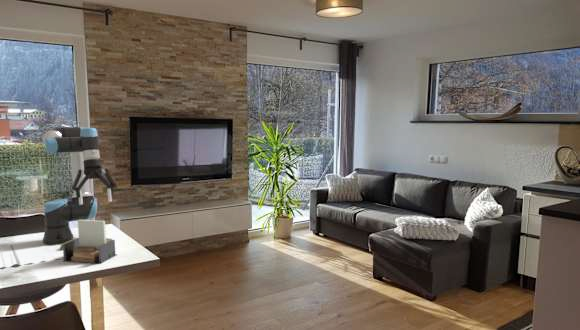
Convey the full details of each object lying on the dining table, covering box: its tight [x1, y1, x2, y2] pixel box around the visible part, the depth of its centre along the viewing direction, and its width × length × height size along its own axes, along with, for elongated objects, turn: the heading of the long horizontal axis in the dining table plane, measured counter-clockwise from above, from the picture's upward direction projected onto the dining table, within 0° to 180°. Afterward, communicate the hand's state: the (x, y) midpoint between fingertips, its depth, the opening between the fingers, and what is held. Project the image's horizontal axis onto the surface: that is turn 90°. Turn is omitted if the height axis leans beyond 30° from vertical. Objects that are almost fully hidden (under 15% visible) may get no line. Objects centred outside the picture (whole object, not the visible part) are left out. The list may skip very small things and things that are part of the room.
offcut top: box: [73, 246, 96, 254], centre depth 202 cm, size 4×9×2 cm, turn 78°
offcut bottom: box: [71, 256, 99, 263], centre depth 203 cm, size 5×12×2 cm, turn 78°
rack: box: [62, 237, 119, 265], centre depth 205 cm, size 14×20×10 cm
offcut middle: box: [73, 251, 99, 258], centre depth 202 cm, size 5×11×2 cm, turn 79°
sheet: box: [77, 219, 107, 251], centre depth 207 cm, size 1×14×18 cm, turn 78°
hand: (96, 203), depth 204 cm, fingers open, 13 cm apart
